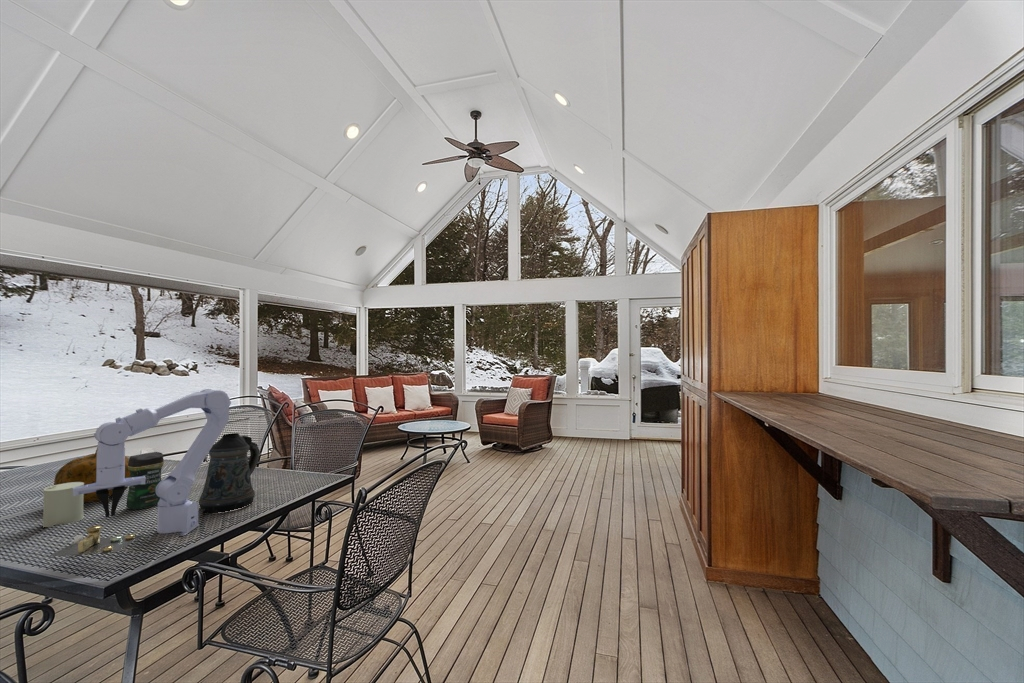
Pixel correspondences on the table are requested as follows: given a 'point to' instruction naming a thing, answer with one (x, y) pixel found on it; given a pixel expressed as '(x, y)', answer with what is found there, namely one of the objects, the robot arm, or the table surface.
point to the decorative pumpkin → (84, 474)
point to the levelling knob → (90, 538)
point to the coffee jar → (151, 470)
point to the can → (62, 504)
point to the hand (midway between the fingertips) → (110, 515)
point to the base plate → (98, 545)
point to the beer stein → (229, 474)
